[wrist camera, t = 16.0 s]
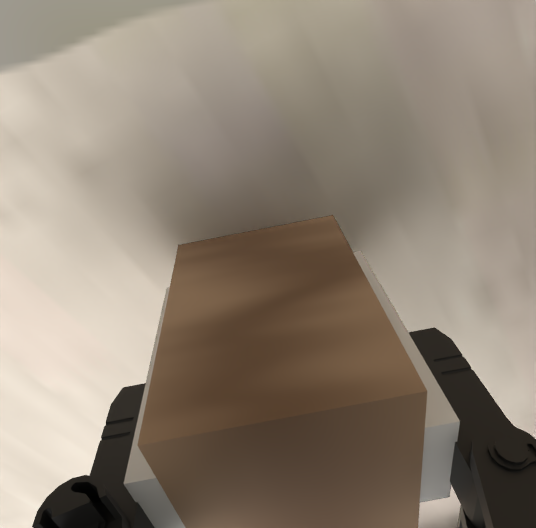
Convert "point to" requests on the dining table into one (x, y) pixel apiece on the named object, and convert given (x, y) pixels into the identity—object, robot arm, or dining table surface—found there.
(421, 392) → the walnut block
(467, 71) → the dining table surface
